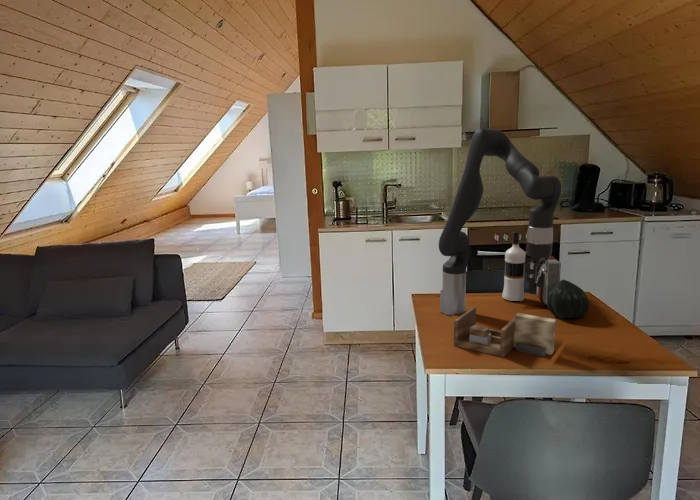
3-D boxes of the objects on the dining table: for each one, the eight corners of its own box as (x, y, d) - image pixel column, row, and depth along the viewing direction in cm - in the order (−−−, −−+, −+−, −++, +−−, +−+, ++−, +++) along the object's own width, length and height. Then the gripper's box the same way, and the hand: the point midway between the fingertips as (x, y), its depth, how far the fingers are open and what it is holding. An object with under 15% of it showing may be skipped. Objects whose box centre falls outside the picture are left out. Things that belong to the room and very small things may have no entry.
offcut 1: (469, 334, 161) (469, 328, 161) (474, 330, 164) (474, 324, 163) (484, 337, 158) (484, 331, 157) (488, 334, 161) (489, 328, 160)
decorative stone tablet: (563, 261, 194) (548, 251, 224) (545, 260, 196) (533, 251, 225) (560, 308, 197) (546, 292, 226) (543, 307, 198) (531, 291, 227)
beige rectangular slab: (513, 346, 161) (515, 315, 159) (516, 343, 163) (518, 312, 161) (551, 355, 154) (553, 322, 152) (553, 351, 156) (556, 319, 154)
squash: (594, 312, 178) (588, 275, 185) (550, 311, 182) (547, 275, 189) (586, 326, 190) (581, 291, 197) (545, 325, 194) (542, 291, 201)
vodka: (500, 301, 210) (503, 233, 204) (504, 294, 218) (506, 229, 212) (522, 303, 206) (526, 234, 200) (525, 297, 214) (529, 230, 208)
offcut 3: (468, 346, 162) (468, 340, 162) (473, 342, 165) (473, 336, 165) (485, 350, 158) (485, 344, 158) (490, 346, 162) (490, 340, 161)
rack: (453, 348, 163) (454, 320, 161) (472, 333, 176) (472, 306, 174) (503, 360, 154) (504, 330, 151) (519, 343, 166) (520, 315, 164)
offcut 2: (469, 340, 161) (469, 334, 161) (473, 336, 165) (473, 330, 164) (487, 344, 158) (487, 338, 158) (490, 340, 161) (491, 333, 161)
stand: (515, 353, 158) (515, 343, 157) (522, 345, 164) (523, 335, 164) (543, 359, 153) (544, 349, 152) (550, 351, 159) (551, 341, 159)
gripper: (533, 235, 158) (531, 283, 162) (520, 243, 147) (517, 294, 151) (558, 237, 154) (554, 286, 158) (545, 246, 143) (542, 298, 146)
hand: (536, 290), depth 154 cm, fingers open, 8 cm apart
